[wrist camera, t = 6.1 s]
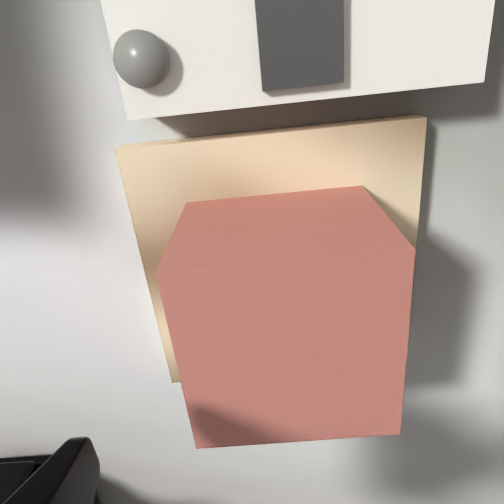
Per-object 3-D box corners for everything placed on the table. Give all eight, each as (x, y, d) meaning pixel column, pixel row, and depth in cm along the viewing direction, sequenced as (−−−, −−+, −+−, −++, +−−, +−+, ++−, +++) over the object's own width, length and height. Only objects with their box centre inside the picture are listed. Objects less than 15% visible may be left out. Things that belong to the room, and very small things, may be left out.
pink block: (359, 329, 16) (400, 434, 12) (211, 341, 17) (196, 448, 12) (362, 185, 14) (415, 249, 9) (186, 202, 14) (155, 272, 10)
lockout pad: (400, 351, 18) (406, 364, 17) (175, 369, 18) (172, 382, 18) (418, 114, 14) (427, 117, 13) (121, 144, 14) (114, 149, 13)
